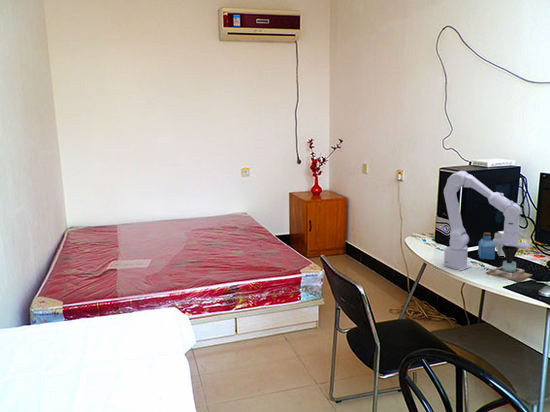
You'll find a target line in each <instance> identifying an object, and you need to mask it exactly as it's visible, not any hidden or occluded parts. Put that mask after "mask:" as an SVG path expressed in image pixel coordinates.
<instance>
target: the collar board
mask: <svg viewBox="0 0 550 412" xmlns="http://www.w3.org/2000/svg"><path fill="white" fill-rule="evenodd" d="M486 274H487V275H490V276H492V277H496V278H502V279H505V280H509V281H513V282H517V283H521V282H523V281H525V280H527V279H528V278H531V277H533V273H532V274H531V273H527V272H525V269H522V268H518V267H516V273H514V274H512V273H508V272H504V271H503V265H502V266H499V267H496V268H493V269H491V270H489V271H487V272H486Z"/></svg>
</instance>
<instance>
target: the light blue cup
mask: <svg viewBox="0 0 550 412" xmlns="http://www.w3.org/2000/svg"><path fill="white" fill-rule="evenodd" d="M502 266H503V271H504V272H508V273H512V274H514V273H516V268H517V262H516V261H514V260H513V262H512V263H507V260H503V261H502Z"/></svg>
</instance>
